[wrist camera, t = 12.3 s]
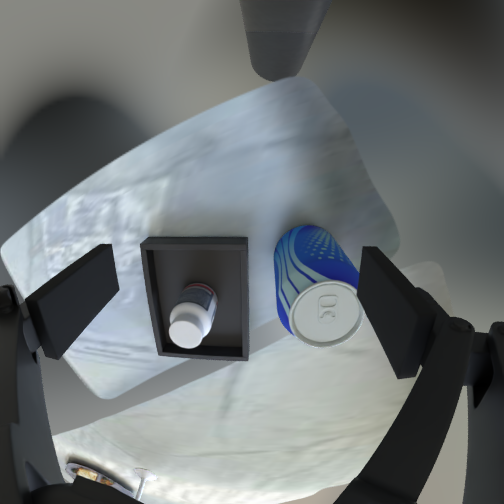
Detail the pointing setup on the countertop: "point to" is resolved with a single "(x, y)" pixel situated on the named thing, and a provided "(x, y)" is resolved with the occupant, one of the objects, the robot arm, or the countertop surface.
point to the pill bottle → (193, 315)
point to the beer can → (316, 288)
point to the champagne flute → (143, 479)
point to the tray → (206, 272)
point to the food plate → (94, 476)
